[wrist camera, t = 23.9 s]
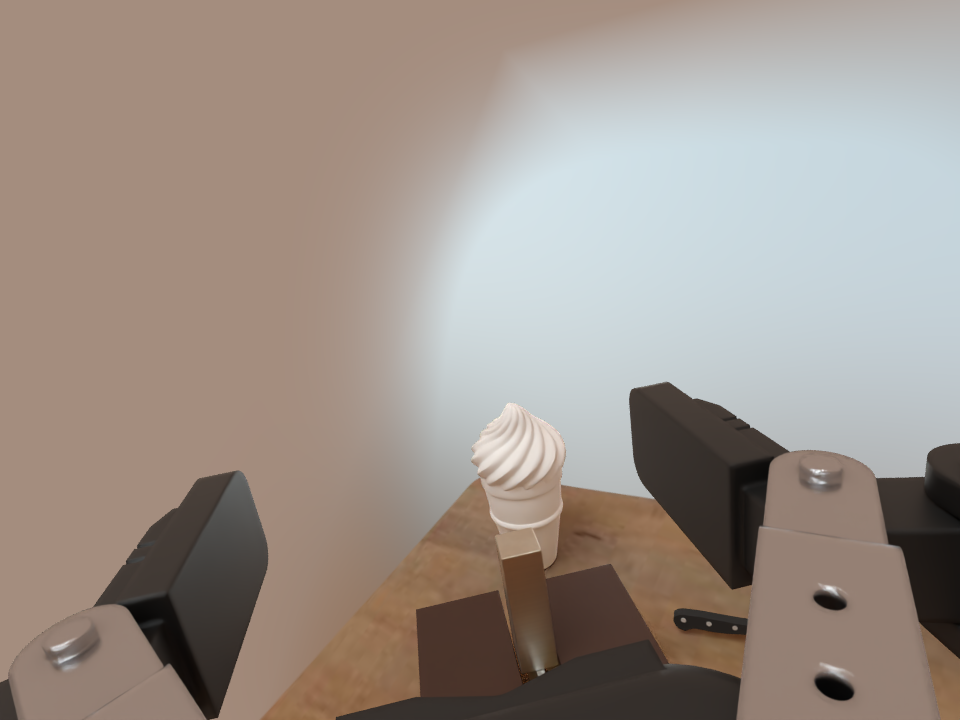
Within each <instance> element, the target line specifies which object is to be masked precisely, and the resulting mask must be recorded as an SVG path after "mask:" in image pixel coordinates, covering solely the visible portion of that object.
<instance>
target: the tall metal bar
mask: <svg viewBox="0 0 960 720" xmlns="http://www.w3.org/2000/svg"><path fill="white" fill-rule="evenodd" d="M495 541H496V547H497V552H498V558H499V563H500V569H501V575H502V580H503V586H504V592H505V597H506V603H507V609H508V614H509V620H510V625H511V631H512V637H513V642H514V647H515V651H516V655H517V659H518V662H519V666H520V670H521V673H522V674H525V673H528V678H529V681H530V680H532V679H534V678H536V677H538V676H540V675H542V674H544V673H545V670H544V669H545V668H549V667H553V666H557V665H558V659H557V652H556V645H555V638H554V632H553V625H552V618H551V611H550V605H549V598H548V591H547V584H546V578H545V571H544V564H543V557H542V551H541V548H540V546H539V543H538V541H537V538H536V536H535V533H534V531H533V528H532V527H530V528H525V529H521V530H517V531H512V532H508V533H503V534H499V535H495Z"/></svg>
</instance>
